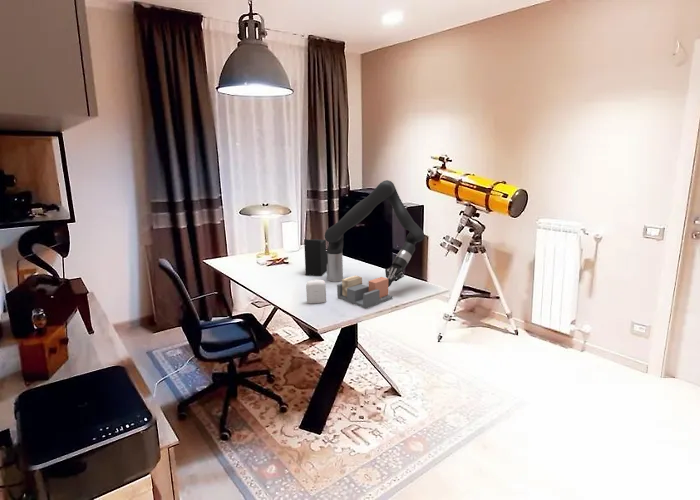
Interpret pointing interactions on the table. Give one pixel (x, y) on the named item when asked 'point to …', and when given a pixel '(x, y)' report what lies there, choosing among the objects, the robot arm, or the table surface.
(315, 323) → the table surface
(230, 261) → the table surface
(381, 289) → the terracotta plug
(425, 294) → the table surface
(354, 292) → the grey slotted tray
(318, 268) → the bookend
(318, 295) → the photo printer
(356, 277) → the ash plug
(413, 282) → the table surface
